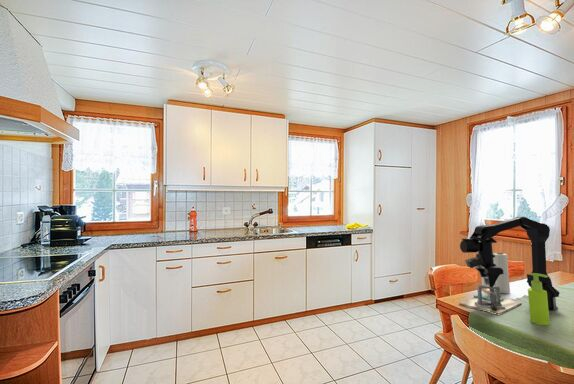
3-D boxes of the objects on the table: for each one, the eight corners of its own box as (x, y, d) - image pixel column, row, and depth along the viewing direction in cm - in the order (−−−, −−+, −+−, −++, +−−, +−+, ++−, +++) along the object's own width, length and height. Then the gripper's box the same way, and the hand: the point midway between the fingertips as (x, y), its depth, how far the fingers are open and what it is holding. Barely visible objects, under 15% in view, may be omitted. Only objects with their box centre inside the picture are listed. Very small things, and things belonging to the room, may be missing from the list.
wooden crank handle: (495, 296, 143) (494, 282, 143) (497, 311, 124) (496, 294, 125) (480, 295, 146) (479, 281, 147) (480, 308, 128) (479, 292, 128)
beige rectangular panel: (521, 304, 134) (521, 300, 134) (499, 315, 121) (498, 310, 122) (482, 295, 148) (482, 292, 148) (458, 304, 136) (458, 300, 136)
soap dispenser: (548, 327, 108) (543, 276, 110) (527, 321, 115) (523, 272, 116) (556, 324, 111) (551, 274, 112) (535, 318, 117) (531, 271, 118)
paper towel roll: (512, 294, 149) (508, 254, 151) (499, 293, 151) (495, 254, 153) (506, 290, 156) (503, 252, 158) (493, 289, 158) (490, 252, 160)
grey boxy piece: (501, 306, 127) (499, 278, 128) (481, 305, 129) (479, 278, 130) (497, 303, 131) (495, 276, 132) (477, 302, 133) (475, 276, 134)
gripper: (459, 249, 143) (461, 279, 142) (474, 255, 125) (477, 290, 124) (483, 249, 140) (486, 280, 139) (502, 255, 122) (505, 291, 121)
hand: (488, 285), depth 131 cm, fingers open, 6 cm apart
